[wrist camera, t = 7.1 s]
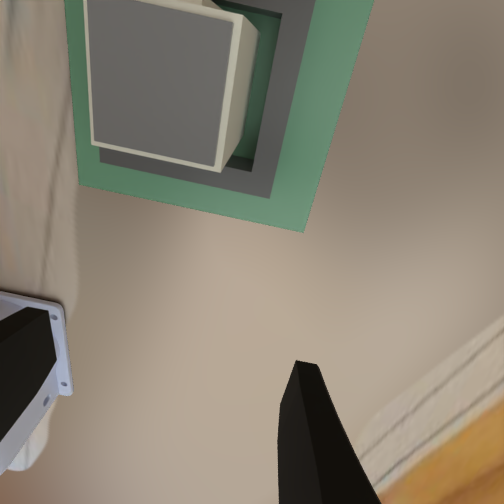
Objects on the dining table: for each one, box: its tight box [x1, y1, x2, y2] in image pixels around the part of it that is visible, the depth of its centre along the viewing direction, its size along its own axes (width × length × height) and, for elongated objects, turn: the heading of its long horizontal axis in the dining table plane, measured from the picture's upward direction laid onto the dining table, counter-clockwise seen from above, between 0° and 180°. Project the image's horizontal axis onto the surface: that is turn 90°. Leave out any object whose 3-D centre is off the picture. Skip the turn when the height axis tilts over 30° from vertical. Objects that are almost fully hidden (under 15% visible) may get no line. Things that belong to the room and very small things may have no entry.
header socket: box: [64, 0, 374, 233], centre depth 14 cm, size 12×12×3 cm
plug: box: [83, 0, 261, 173], centre depth 12 cm, size 4×4×6 cm
